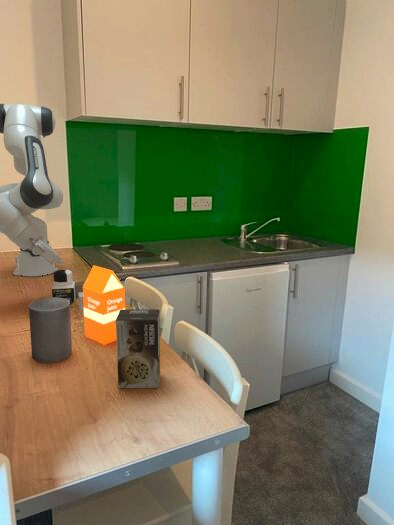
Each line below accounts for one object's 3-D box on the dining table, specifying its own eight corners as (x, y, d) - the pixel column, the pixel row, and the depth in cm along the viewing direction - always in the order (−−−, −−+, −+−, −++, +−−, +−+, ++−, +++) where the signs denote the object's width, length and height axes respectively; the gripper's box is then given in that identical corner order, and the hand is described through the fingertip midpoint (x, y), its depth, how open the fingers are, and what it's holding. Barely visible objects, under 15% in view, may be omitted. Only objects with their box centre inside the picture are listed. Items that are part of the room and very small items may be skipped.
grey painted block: (78, 306, 134) (78, 292, 133) (93, 305, 136) (93, 291, 135) (79, 311, 129) (78, 297, 128) (95, 310, 131) (94, 295, 130)
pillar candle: (25, 353, 100) (21, 297, 96) (62, 342, 106) (59, 289, 103) (42, 367, 93) (37, 308, 89) (79, 355, 100) (77, 299, 96)
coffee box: (160, 373, 91) (160, 308, 88) (159, 389, 85) (159, 319, 81) (121, 373, 91) (120, 308, 87) (116, 388, 85) (115, 319, 81)
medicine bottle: (52, 308, 131) (50, 273, 129) (54, 301, 138) (52, 268, 135) (75, 306, 133) (73, 273, 130) (75, 300, 140) (73, 267, 137)
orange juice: (106, 327, 117) (104, 262, 112) (126, 336, 111) (124, 268, 107) (84, 336, 111) (81, 267, 106) (103, 345, 105) (101, 273, 101)
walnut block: (70, 295, 145) (70, 282, 144) (83, 293, 148) (82, 280, 147) (77, 299, 141) (76, 285, 140) (89, 296, 145) (89, 283, 144)
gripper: (40, 234, 117) (75, 263, 124) (31, 225, 134) (62, 250, 141) (25, 250, 116) (61, 278, 123) (18, 238, 133) (50, 263, 140)
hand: (62, 263), depth 132 cm, fingers closed
